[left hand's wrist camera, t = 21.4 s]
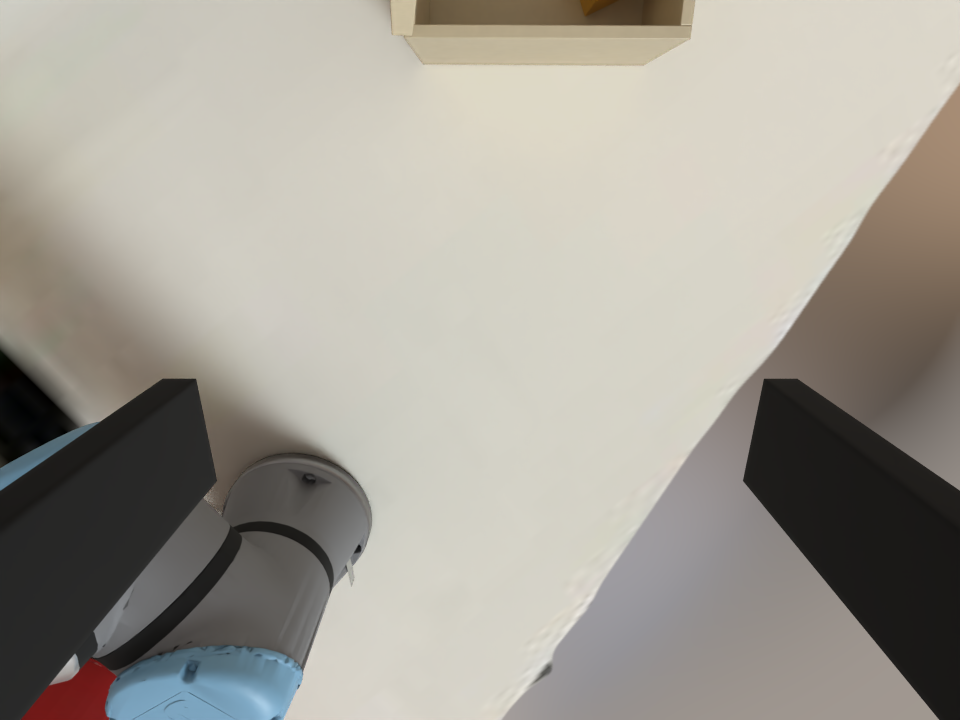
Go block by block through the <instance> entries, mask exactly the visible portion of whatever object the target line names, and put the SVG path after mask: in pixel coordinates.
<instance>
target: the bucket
mask: <svg viewBox="0 0 960 720" xmlns="http://www.w3.org/2000/svg"><path fill="white" fill-rule="evenodd" d="M116 678H117V676H116V675H115V674H114V673H112V672H111V671H110V670H108V668H106V667H105V666H104V665H102V664H101V663H100V662H98V661H97V660H94V659H92V658H90V659H89V660H88V661H87V663H86V664H85V665H84V666H83V667H82V668H81V669H80V670H79V671H78V673H77V674H76V675H75V676H74V677H73V678H72V679H70V680H68V681H64V682H60V683H56V684H52V685H49V686H48V687H47V688H46V690H45V691H44V692H43V693H42V694H41V696H40V697H39V698H38V699H37V700H36V702H35V703H34V704H33V705H32V707H31V708H30V709H29V710H28V711H27V713H26V714H25V715H24V716H23V718H22V719H21V720H109V717H107V716H106V712H105V704H106V700H107V696H108V693H109V689H110V685H111V684H112V683H113V681H114V680H115V679H116Z"/></svg>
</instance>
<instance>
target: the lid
mask: <svg viewBox="0 0 960 720" xmlns="http://www.w3.org/2000/svg"><path fill="white" fill-rule="evenodd" d="M415 8H416V0H390V10H391V29H392V35H406V36H412V33H413V25H414V16H415Z"/></svg>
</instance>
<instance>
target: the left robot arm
mask: <svg viewBox="0 0 960 720" xmlns="http://www.w3.org/2000/svg"><path fill="white" fill-rule="evenodd" d="M216 481H217V479H216V474H215V469H214V464H213V459H212V454H211V450H210V445H209V440H208V435H207V430H206V425H205V420H204V415H203V411H202V406H201V401H200V396H199V391H198V386H197V381H196V379H162V380H160V381H159V382H157V383H156V384H155V385H153V386H152V387H150V388H149V389H147V390H146V391H144V392H143V393H141V394H140V395H139V396H137V397H136V398H134V399H133V400H131V401H130V402H128V403H127V404H125V405H124V406H123V407H121V408H120V409H118V410H117V411H115V412H114V413H112V414H111V415H110V416H108V417H107V418H105V419H104V420H102V421H101V422H96V423H92V424H88V425H85V426H83V427H80V428H78V429H75V430H73V431H71V432H69V433H67V434H64V435H62V436H60V437H58V438H56V439H54V440H52V441H50V442H48V443H46V444H44V445H42V446H40V447H38V448H36V449H35V450H33V451H31V452H29V453H27V454H25V455H23V456H21V457H20V458H18V459H16V460H14V461H12V462H11V463H9V464H7V465H5V466H4V467H2V468H0V720H21V719H22V718H23V716H24V715H25V714H26V713H27V711H28V710H29V709H30V708H31V707H32V705H33V704H34V703H35V702H36V700H37V699H38V698H39V697H40V696H41V694H42V693H43V692H44V691H45V690H46V688H47V687H48V686H49V685H52V684H56V683H60V682H64V681H68V680H70V679H72V678H73V677H74V676H75V675H76V674H77V673H78V671H79V670H80V669H81V668H82V667H83V666H84V665H85V664H86V663H87V661H88V660H89V659H90V658H91V657H93V658H94V659H96V660H97V661H98V662H100V663H101V664H102V665H104V666H105V667H106V668H108V670H110V671H111V672H112V673H114V674H115V675H116V676H117V678H116V679H115V680H114V681H113V683H112V684H111V685H110V689H109V693H108V696H107V700H106V704H105V712H106V716H107V717H109V720H283V719H284V717H285V715H286V712H287V710H288V708H289V706H290V704H291V701H292V699H293V697H294V695H295V693H296V690H297V689H298V688H299V686H300V684H301V682H302V677H303V670H304V667H305V665H306V662H307V659H308V656H309V653H310V650H311V648H312V645H313V642H314V639H315V636H316V633H317V630H318V628H319V625H320V622H321V619H322V616H323V613H324V611H325V608H326V605H327V602H328V599H329V596H330V593H331V591H332V588H333V587H334V586H335V585H336V584H337V583H338V582H339V581H340V579H341V578H342V577H343V576H344V575H345V574H346V573H347V572H348V574H349V578H350V583H351V587H352V584H353V581H354V578H355V577H354V572H353V568H352V566H353V565H354V564H355V562H356V561H357V560H358V559H359V557H360V556H361V554H362V553H363V551H364V549H365V547H366V544H367V541H368V538H369V534H370V531H371V526H372V513H371V508H370V504H369V501H368V499H367V497H366V495H365V493H364V491H363V490H362V488H361V487H360V485H359V484H358V483H357V482H356V481H355V480H354V479H353V478H352V477H351V476H350V475H349V474H348V473H347V472H345V471H344V470H343V469H341V468H340V467H338V466H336V465H334V464H333V463H331V462H328V461H326V460H324V459H321V458H318V457H314V456H310V455H305V454H291V453H290V454H279V455H274V456H270V457H267V458H264V459H262V460H260V461H258V462H256V463H254V464H253V465H251V466H250V467H249V468H247V469H246V470H245V471H244V472H243V473H242V474H241V476H240V477H239V478H238V479H237V481H236V482H235V483H234V485H233V486H232V487H231V489H230V491H229V492H228V495H227V497H226V500H225V503H224V507H223V513H222V516H221V515H220V514H219V513H218V512H217V511H216V510H215V509H214V508H213V507H212V506H211V505H209V504H208V503H207V502H206V501H205V500H204V499H203V497H204V496H205V495H206V494H207V492H208V491H209V490H210V489H211V487H212V486H213V485H214V484H215V483H216ZM743 481H744V483H745V484H746V485H747V486H748V487H749V489H750V490H751V491H752V492H753V493H754V495H755V496H756V497H757V498H758V500H759V501H760V502H761V503H762V504H763V506H764V507H765V508H766V509H767V511H768V512H769V513H770V514H771V515H772V517H773V518H774V519H775V520H776V522H777V523H778V524H779V525H780V526H781V528H782V529H783V530H784V531H785V532H786V534H787V535H788V536H789V537H790V539H791V540H792V541H793V542H794V543H795V545H796V546H797V547H798V548H799V550H800V551H801V552H802V553H803V554H804V556H805V557H806V558H807V559H808V560H809V562H810V563H811V564H812V565H813V567H814V568H815V569H816V570H817V571H818V573H819V574H820V575H821V576H822V578H823V579H824V580H825V581H826V582H827V584H828V585H829V586H830V587H831V588H832V590H833V591H834V592H835V593H836V595H837V596H838V597H839V598H840V599H841V601H842V602H843V603H844V604H845V606H846V607H847V608H848V609H849V610H850V612H851V613H852V614H853V615H854V616H855V618H856V619H857V620H858V621H859V623H860V624H861V625H862V626H863V627H864V629H865V630H866V631H867V632H868V634H869V635H870V636H871V637H872V638H873V640H874V641H875V642H876V643H877V644H878V646H879V647H880V648H881V649H882V651H883V652H884V653H885V654H886V655H887V657H888V658H889V659H890V660H891V661H892V663H893V664H894V665H895V666H896V668H897V669H898V670H899V671H900V672H901V674H902V675H903V676H904V677H905V679H906V680H907V681H908V682H909V683H910V685H911V686H912V687H913V688H914V690H915V691H916V692H917V693H918V694H919V696H920V697H921V698H922V699H923V700H924V702H925V703H926V704H927V705H928V707H929V708H930V709H931V710H932V711H933V713H934V714H935V715H936V716H937V717H938V719H939V720H960V491H959V490H958V489H957V488H955V487H954V486H952V485H951V484H949V483H948V482H946V481H945V480H944V479H942V478H941V477H939V476H938V475H936V474H935V473H933V472H932V471H930V470H929V469H927V468H926V467H925V466H923V465H922V464H920V463H919V462H917V461H916V460H914V459H913V458H911V457H910V456H909V455H907V454H906V453H904V452H903V451H901V450H900V449H898V448H897V447H895V446H894V445H893V444H891V443H890V442H888V441H887V440H885V439H884V438H882V437H881V436H880V435H878V434H877V433H875V432H874V431H872V430H871V429H869V428H868V427H866V426H865V425H864V424H862V423H861V422H859V421H858V420H856V419H855V418H853V417H852V416H850V415H849V414H848V413H846V412H845V411H843V410H842V409H840V408H839V407H837V406H836V405H834V404H833V403H832V402H830V401H829V400H827V399H826V398H824V397H823V396H821V395H820V394H819V393H817V392H816V391H814V390H813V389H811V388H810V387H808V386H807V385H805V384H804V383H803V382H801V381H800V380H798V379H764V381H763V386H762V391H761V396H760V401H759V406H758V411H757V416H756V420H755V425H754V430H753V435H752V440H751V445H750V450H749V455H748V459H747V464H746V469H745V474H744V479H743Z"/></svg>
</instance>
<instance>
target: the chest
mask: <svg viewBox="0 0 960 720" xmlns="http://www.w3.org/2000/svg"><path fill="white" fill-rule="evenodd" d="M694 6H695V0H618V1H616V2H614V3H612V4H610V5H608V6H606V7H604V8H602V9H600V10H598V11H596V12H594V13H592V14H590V15H588V16H584V12H583V9H582V6H581V2H580V0H416V8H415V16H414V25H413V33H412V36H406V35H404V38H405V40H406V41H407V42H408V44H409V45H410V47H411V48H412V49H413V51H414V52H415V54H416V55H417V56H418V58H419V59H420V61H421V62H422V63H423V64H461V65H645V64H647V63H649V62H650V61H652V60H654V59H656V58H657V57H659V56H661V55H663V54H665V53H666V52H668V51H670V50H672V49H673V48H675V47H677V46H679V45H680V44H682V43H684V42H686V41H687V40H689V39H690V37H691V29H692V26H691V25H692V21H693V14H694Z"/></svg>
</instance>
